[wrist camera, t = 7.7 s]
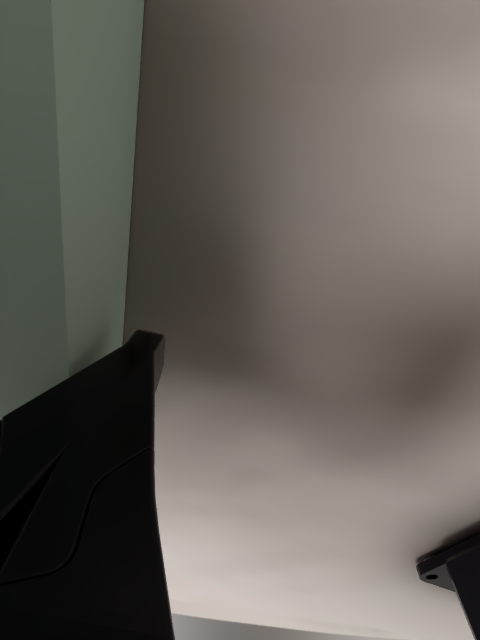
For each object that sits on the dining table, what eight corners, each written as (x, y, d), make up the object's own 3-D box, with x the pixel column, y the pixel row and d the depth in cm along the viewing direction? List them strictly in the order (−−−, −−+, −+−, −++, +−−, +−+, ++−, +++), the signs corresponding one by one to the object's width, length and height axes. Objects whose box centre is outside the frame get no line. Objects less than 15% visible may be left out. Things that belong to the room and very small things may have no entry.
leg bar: (118, 410, 11) (75, 506, 8) (46, 396, 11) (-22, 490, 8) (149, -56, 5) (41, -209, 3) (-5, -105, 5) (-287, -323, 2)
